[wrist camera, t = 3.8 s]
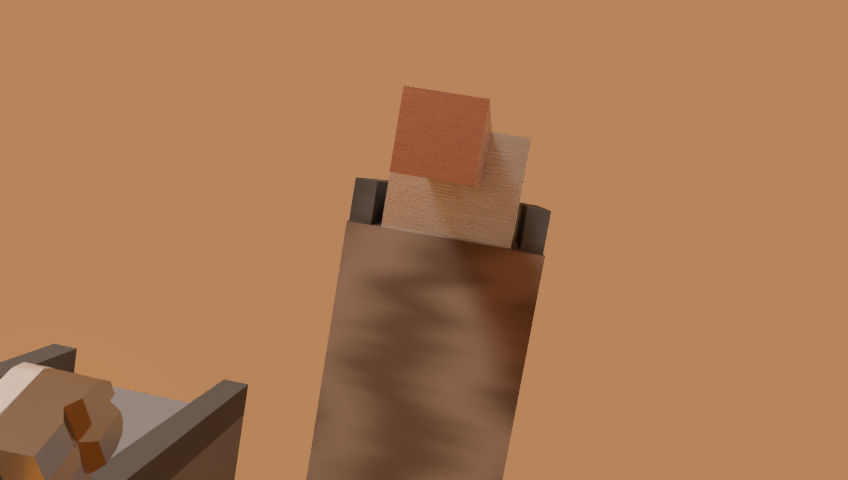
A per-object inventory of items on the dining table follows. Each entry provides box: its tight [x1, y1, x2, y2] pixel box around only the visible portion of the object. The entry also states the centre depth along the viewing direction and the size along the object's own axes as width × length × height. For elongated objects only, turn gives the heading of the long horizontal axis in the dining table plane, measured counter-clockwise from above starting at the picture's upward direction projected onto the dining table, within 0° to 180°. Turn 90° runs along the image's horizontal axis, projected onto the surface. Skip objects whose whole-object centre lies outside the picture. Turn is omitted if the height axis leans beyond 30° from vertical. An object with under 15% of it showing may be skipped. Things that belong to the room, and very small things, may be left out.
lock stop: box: [381, 86, 531, 249], centre depth 26 cm, size 6×17×5 cm, turn 173°
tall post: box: [306, 178, 551, 480], centre depth 34 cm, size 12×12×28 cm
